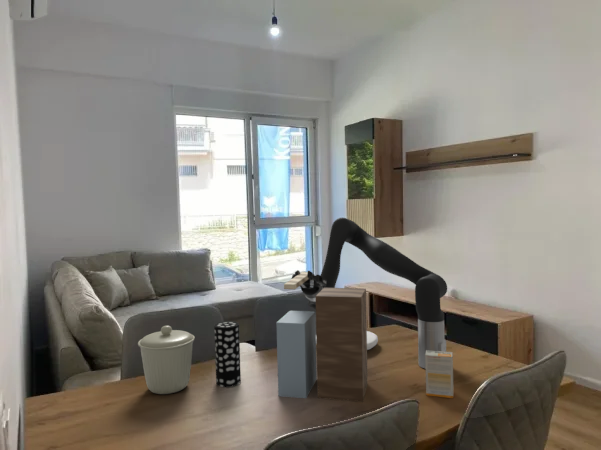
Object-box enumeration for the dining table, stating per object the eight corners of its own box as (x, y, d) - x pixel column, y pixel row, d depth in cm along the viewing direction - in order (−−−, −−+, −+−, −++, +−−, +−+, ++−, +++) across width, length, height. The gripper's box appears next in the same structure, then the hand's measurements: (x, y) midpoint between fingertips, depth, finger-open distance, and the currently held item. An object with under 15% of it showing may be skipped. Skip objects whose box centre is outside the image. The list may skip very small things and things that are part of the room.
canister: (158, 405, 139) (155, 337, 138) (129, 389, 151) (127, 327, 150) (207, 386, 152) (205, 324, 151) (177, 373, 164) (175, 316, 163)
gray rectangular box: (291, 377, 159) (289, 310, 158) (316, 378, 156) (315, 311, 155) (278, 396, 143) (276, 322, 142) (306, 398, 141) (304, 323, 140)
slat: (302, 276, 165) (302, 271, 164) (311, 276, 164) (311, 272, 164) (284, 289, 141) (284, 284, 141) (295, 289, 140) (294, 284, 140)
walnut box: (326, 380, 155) (324, 287, 153) (367, 383, 151) (365, 288, 150) (317, 398, 141) (315, 296, 140) (362, 401, 138) (361, 297, 136)
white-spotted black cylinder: (245, 379, 157) (243, 322, 156) (231, 388, 150) (230, 328, 149) (225, 376, 161) (223, 320, 160) (211, 385, 153) (209, 326, 152)
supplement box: (453, 392, 143) (453, 351, 142) (453, 399, 138) (453, 356, 138) (426, 389, 145) (426, 349, 145) (425, 395, 141) (425, 354, 140)
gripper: (295, 279, 176) (284, 262, 161) (331, 280, 173) (323, 263, 158) (293, 298, 173) (282, 282, 158) (330, 299, 169) (321, 283, 154)
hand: (302, 273), depth 158 cm, fingers closed on slat, 3 cm apart
